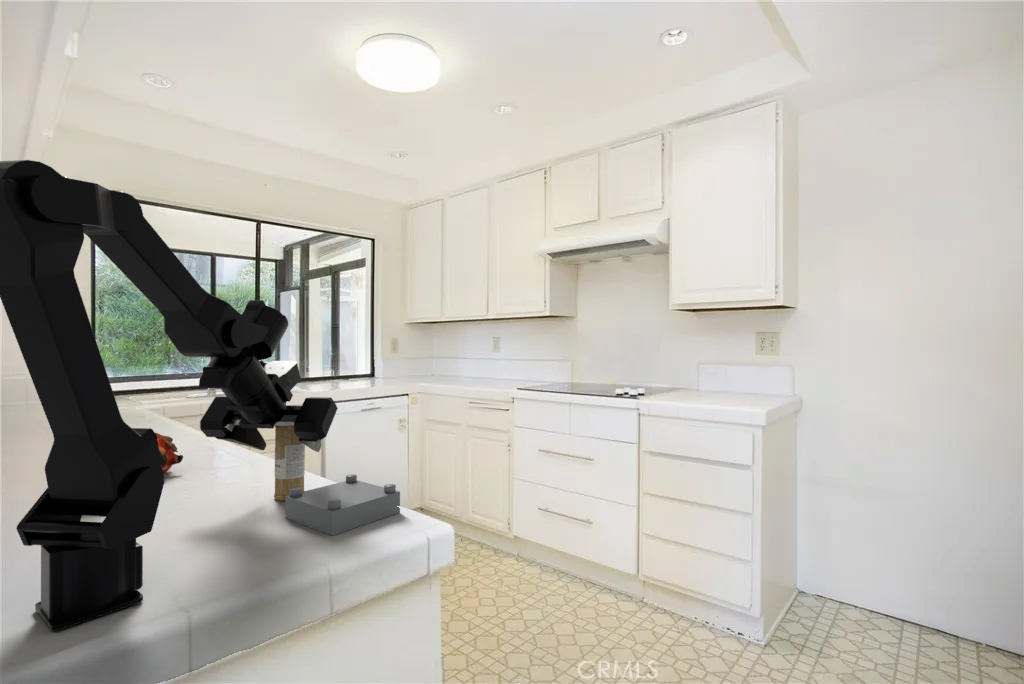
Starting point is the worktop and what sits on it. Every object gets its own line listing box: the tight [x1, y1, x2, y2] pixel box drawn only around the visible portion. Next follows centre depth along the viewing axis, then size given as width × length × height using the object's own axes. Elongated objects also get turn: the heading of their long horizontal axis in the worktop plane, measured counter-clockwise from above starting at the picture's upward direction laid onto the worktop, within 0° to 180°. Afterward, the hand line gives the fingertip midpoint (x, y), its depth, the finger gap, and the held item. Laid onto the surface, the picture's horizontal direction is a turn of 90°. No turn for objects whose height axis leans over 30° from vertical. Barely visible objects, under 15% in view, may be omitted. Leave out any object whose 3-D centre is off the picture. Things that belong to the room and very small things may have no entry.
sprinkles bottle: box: [273, 422, 306, 502], centre depth 80 cm, size 5×5×14 cm
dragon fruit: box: [155, 432, 184, 474], centre depth 94 cm, size 8×8×12 cm
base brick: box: [284, 473, 401, 536], centre depth 72 cm, size 11×11×4 cm
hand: (291, 448), depth 81 cm, fingers open, 9 cm apart
